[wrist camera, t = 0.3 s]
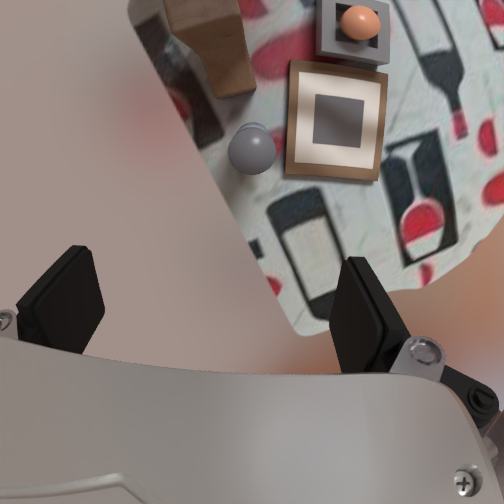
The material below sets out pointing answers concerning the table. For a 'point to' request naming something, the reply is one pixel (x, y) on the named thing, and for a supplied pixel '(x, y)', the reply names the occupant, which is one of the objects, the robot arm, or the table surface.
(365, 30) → the button
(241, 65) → the wooden block
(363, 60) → the button housing
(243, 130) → the grey capped shaker
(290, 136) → the picture frame
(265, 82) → the table surface
